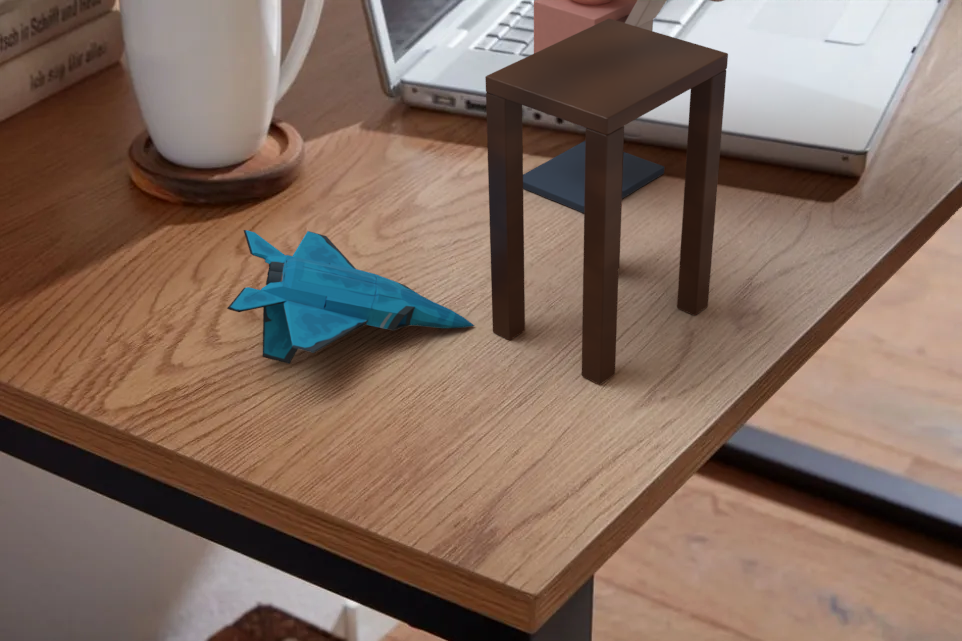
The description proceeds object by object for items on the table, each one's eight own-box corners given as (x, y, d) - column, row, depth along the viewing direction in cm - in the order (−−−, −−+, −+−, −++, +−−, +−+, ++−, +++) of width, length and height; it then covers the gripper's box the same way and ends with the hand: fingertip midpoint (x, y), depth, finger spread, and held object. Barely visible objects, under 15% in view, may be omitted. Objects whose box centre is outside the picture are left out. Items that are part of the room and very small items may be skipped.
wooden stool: (708, 306, 69) (728, 53, 62) (600, 385, 64) (607, 118, 56) (602, 261, 73) (608, 17, 66) (492, 332, 68) (484, 75, 60)
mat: (664, 173, 82) (664, 166, 81) (592, 217, 78) (592, 209, 77) (588, 145, 85) (588, 138, 85) (515, 185, 81) (515, 178, 81)
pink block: (647, 86, 78) (655, -75, 73) (593, 115, 75) (598, -52, 70) (587, 66, 81) (591, -91, 75) (533, 93, 78) (533, -69, 72)
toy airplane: (277, 415, 63) (267, 343, 60) (183, 322, 69) (171, 253, 67) (475, 328, 69) (474, 259, 66) (371, 250, 75) (367, 184, 73)
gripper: (807, -202, 64) (778, 66, 72) (493, -253, 76) (497, -17, 84) (733, -176, 61) (711, 105, 68) (415, -233, 72) (426, 12, 80)
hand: (591, 37), depth 76 cm, fingers closed on pink block, 4 cm apart
